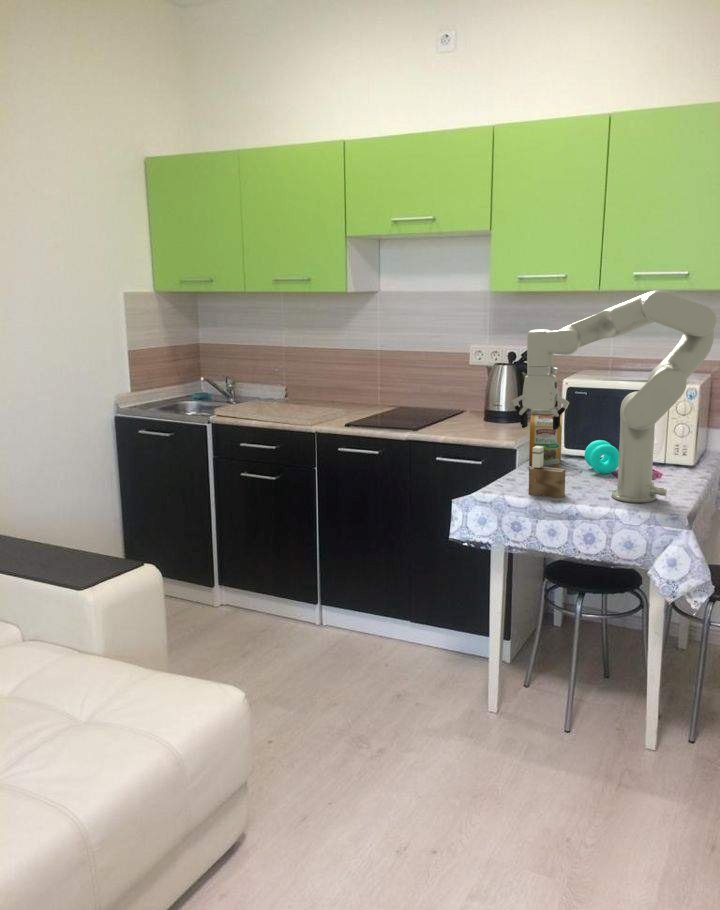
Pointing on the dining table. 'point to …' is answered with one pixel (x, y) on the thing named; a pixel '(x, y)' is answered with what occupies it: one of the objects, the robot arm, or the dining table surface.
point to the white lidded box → (537, 456)
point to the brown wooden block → (547, 481)
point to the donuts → (609, 459)
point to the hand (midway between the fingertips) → (540, 428)
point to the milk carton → (545, 437)
